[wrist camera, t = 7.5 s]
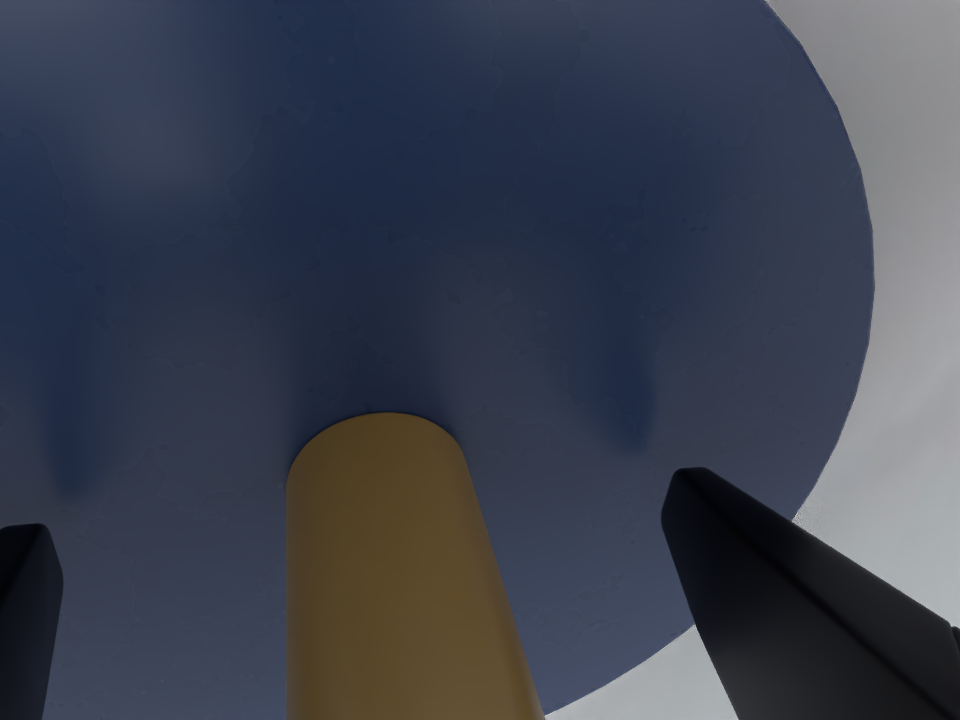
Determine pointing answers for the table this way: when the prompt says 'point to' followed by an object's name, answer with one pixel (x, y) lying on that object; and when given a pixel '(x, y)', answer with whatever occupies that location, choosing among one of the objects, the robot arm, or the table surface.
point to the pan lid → (405, 336)
